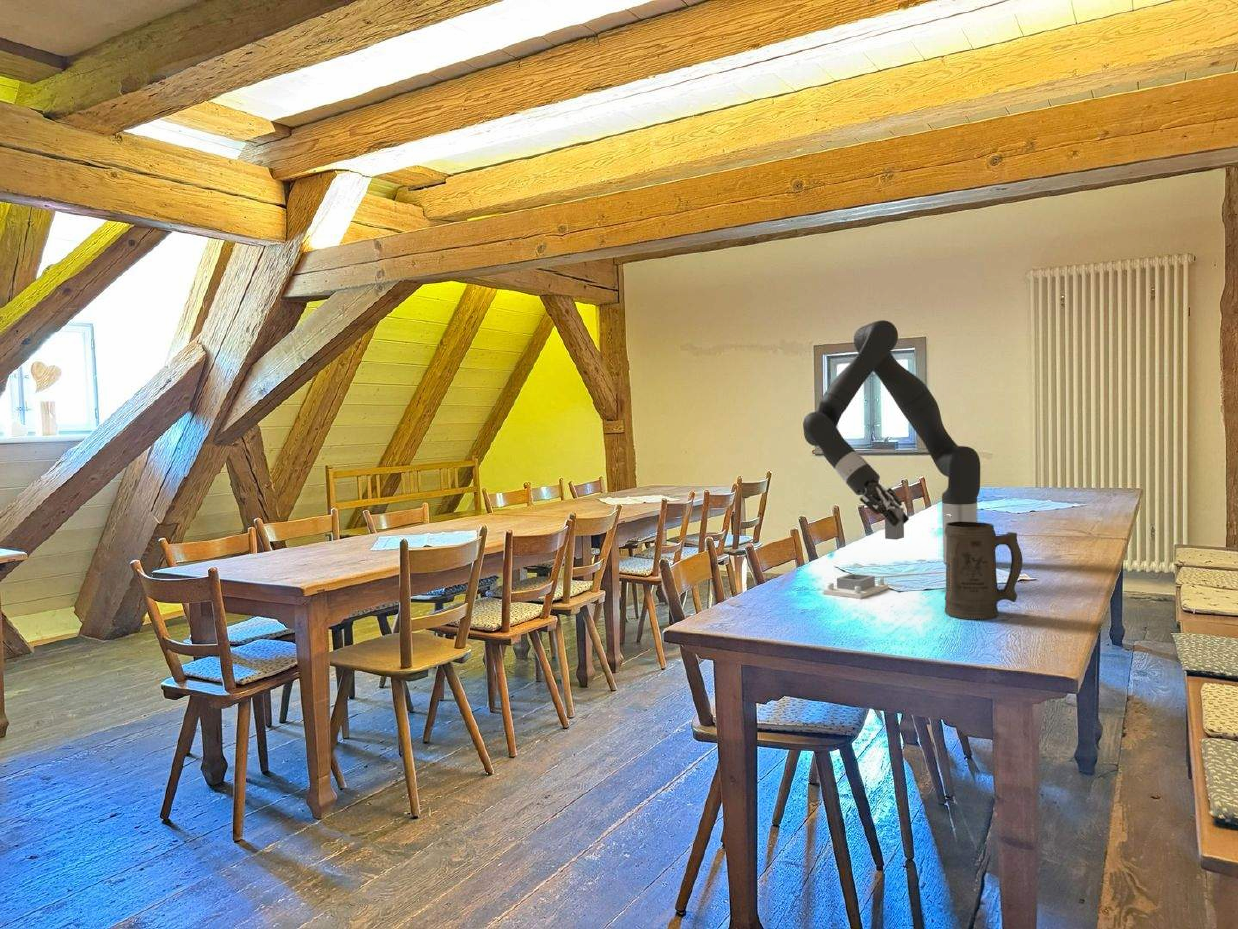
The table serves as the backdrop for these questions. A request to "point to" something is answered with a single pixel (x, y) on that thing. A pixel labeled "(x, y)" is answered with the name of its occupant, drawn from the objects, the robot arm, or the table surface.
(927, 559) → the table surface
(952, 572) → the beer stein
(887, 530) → the block
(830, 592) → the plate
